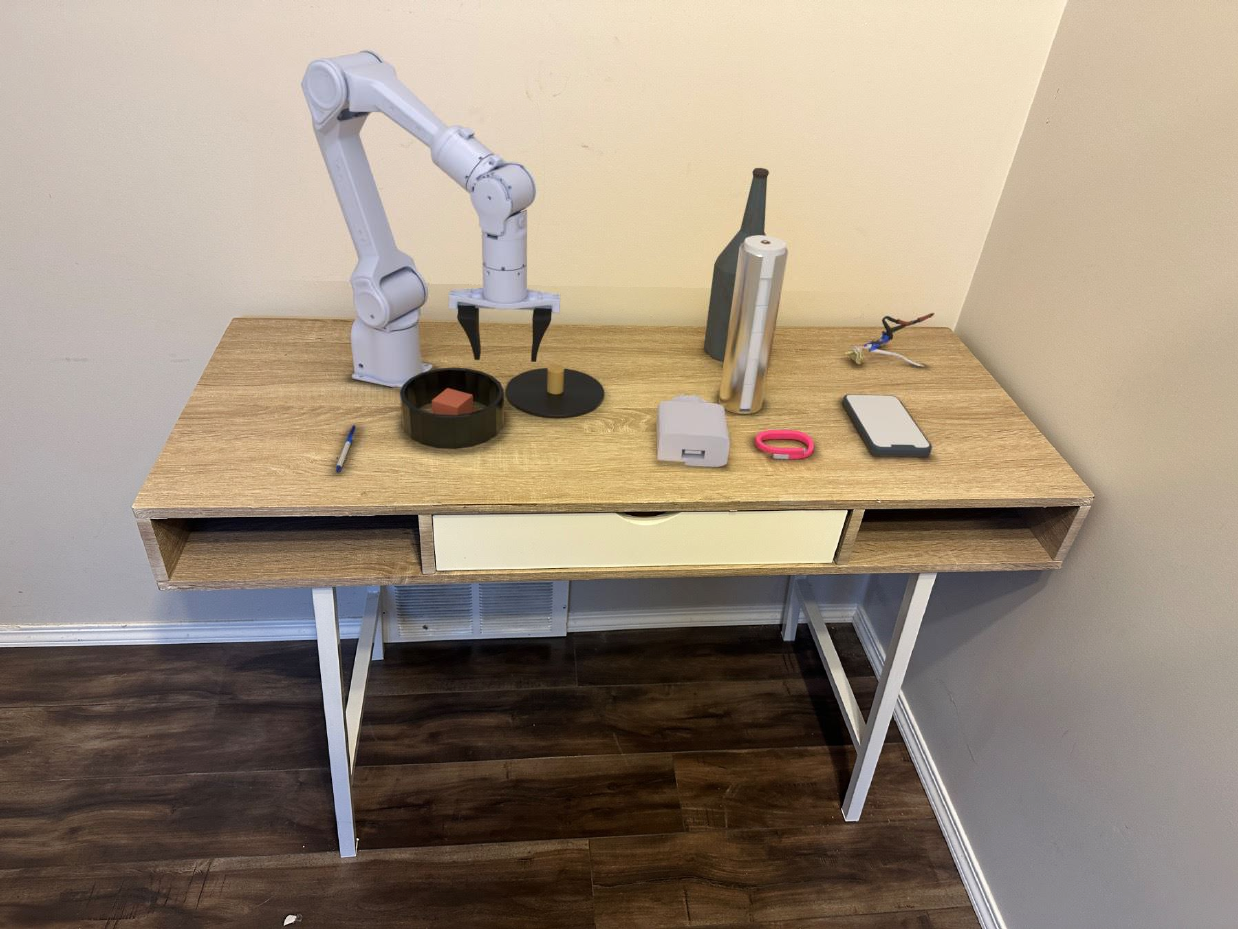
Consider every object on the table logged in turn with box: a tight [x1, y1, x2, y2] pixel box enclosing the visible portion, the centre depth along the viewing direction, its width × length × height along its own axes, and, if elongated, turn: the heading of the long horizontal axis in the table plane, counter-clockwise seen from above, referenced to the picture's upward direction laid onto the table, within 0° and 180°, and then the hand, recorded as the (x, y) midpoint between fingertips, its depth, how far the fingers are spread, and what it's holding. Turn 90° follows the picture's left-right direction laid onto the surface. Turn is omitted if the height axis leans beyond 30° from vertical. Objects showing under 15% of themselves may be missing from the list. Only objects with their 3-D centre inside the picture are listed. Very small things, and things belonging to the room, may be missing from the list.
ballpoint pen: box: [335, 424, 356, 473], centre depth 117 cm, size 10×1×1 cm, turn 4°
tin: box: [399, 367, 505, 450], centre depth 123 cm, size 14×14×5 cm
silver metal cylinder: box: [718, 235, 789, 415], centre depth 127 cm, size 6×6×25 cm
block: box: [431, 388, 474, 415], centre depth 123 cm, size 4×4×4 cm
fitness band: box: [754, 429, 815, 460], centre depth 124 cm, size 8×6×2 cm
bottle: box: [703, 167, 770, 363], centre depth 140 cm, size 10×10×30 cm
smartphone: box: [842, 393, 933, 458], centre depth 130 cm, size 9×2×16 cm
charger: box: [655, 392, 731, 468], centre depth 124 cm, size 5×9×15 cm
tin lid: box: [505, 364, 605, 419], centre depth 131 cm, size 14×14×5 cm
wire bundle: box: [844, 312, 935, 368], centre depth 150 cm, size 10×9×20 cm
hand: (505, 357), depth 124 cm, fingers open, 7 cm apart
